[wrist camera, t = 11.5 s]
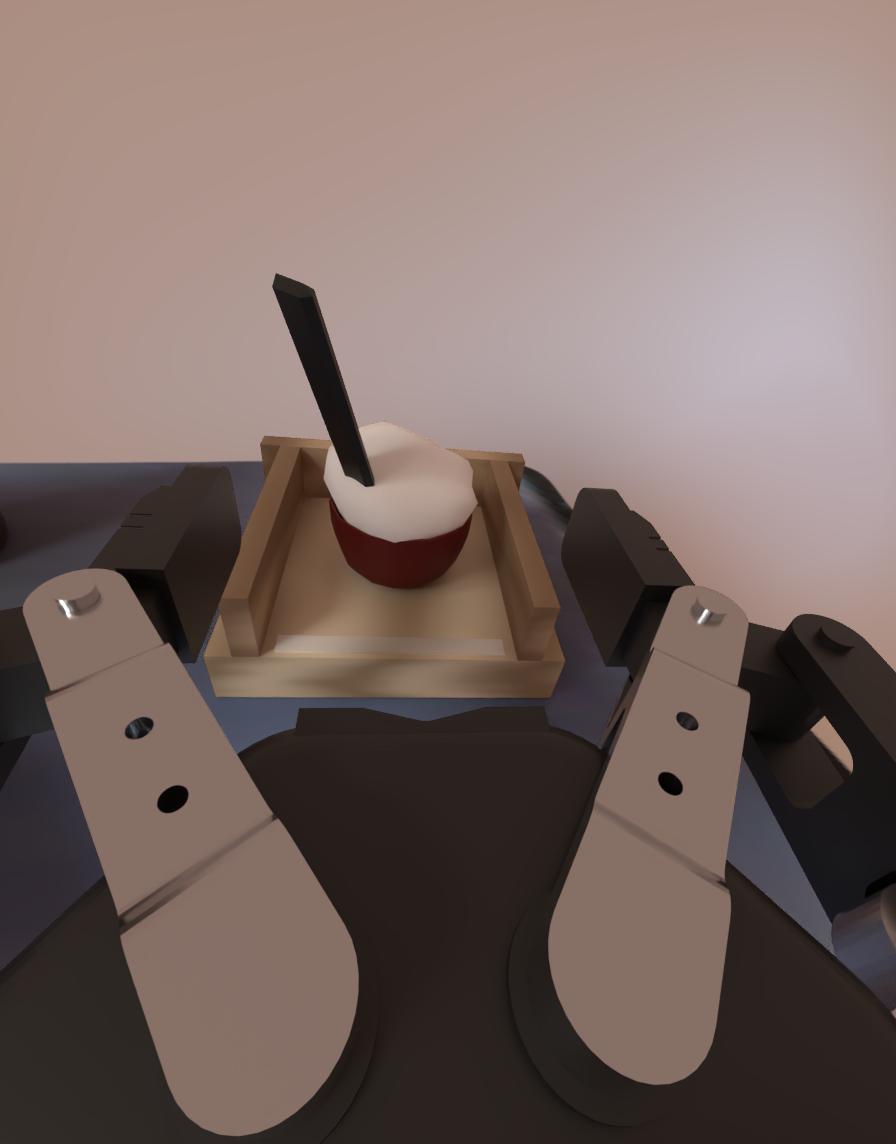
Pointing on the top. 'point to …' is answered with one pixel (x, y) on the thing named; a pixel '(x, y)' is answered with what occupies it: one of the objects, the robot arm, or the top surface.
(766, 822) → the top surface
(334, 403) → the cocoa
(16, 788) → the top surface
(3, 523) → the bottle
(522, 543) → the wooden tray
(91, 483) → the top surface
